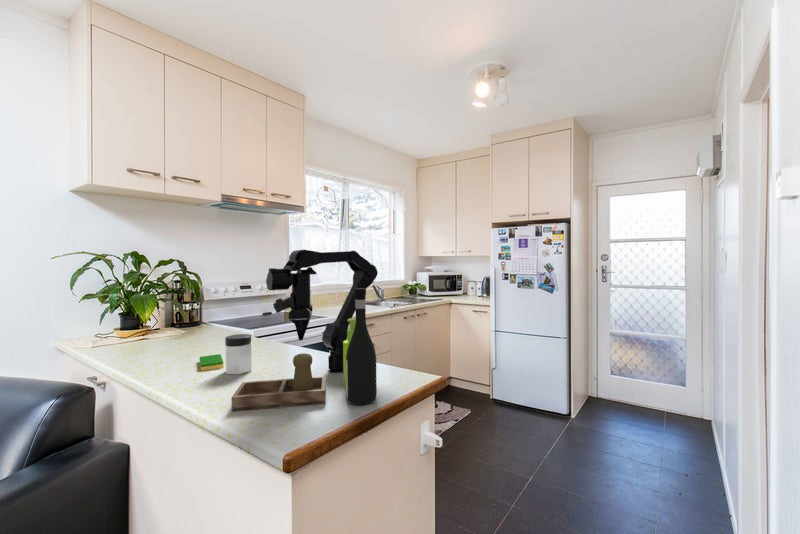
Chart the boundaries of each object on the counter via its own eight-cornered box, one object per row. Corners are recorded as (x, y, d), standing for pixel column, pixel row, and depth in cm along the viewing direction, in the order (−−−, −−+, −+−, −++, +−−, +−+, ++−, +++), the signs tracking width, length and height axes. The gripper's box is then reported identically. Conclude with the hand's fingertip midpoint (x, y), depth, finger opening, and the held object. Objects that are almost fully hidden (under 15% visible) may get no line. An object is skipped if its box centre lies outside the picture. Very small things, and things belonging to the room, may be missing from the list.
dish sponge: (200, 372, 127) (200, 365, 127) (199, 362, 139) (199, 356, 139) (223, 368, 130) (223, 362, 130) (220, 360, 142) (220, 353, 142)
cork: (317, 390, 104) (316, 351, 103) (310, 398, 98) (309, 357, 97) (296, 389, 104) (296, 351, 104) (288, 397, 98) (287, 357, 98)
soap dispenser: (368, 381, 113) (367, 317, 113) (356, 388, 107) (355, 320, 107) (352, 379, 116) (351, 316, 116) (339, 386, 110) (338, 319, 109)
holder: (325, 388, 108) (325, 376, 108) (325, 403, 96) (325, 390, 96) (242, 394, 104) (242, 381, 103) (231, 411, 92) (231, 397, 92)
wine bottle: (340, 402, 97) (338, 289, 96) (358, 393, 103) (357, 287, 103) (364, 408, 92) (363, 290, 92) (382, 398, 99) (381, 287, 99)
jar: (252, 372, 124) (252, 337, 123) (226, 376, 120) (225, 339, 120) (250, 366, 132) (250, 332, 132) (225, 369, 128) (225, 335, 128)
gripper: (278, 287, 125) (279, 333, 126) (270, 291, 107) (271, 345, 107) (312, 286, 128) (312, 331, 128) (309, 290, 109) (310, 343, 109)
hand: (301, 337), depth 118 cm, fingers open, 9 cm apart
